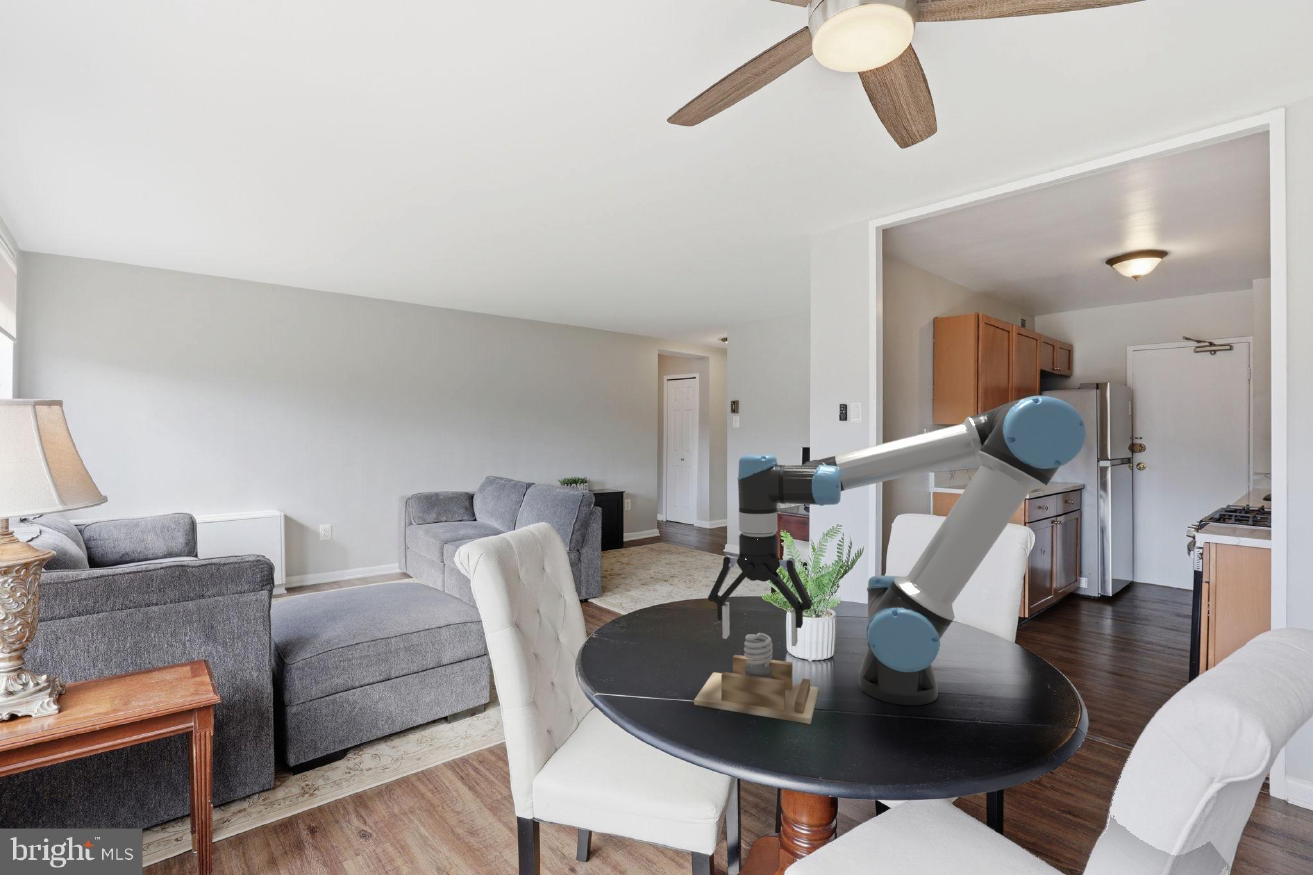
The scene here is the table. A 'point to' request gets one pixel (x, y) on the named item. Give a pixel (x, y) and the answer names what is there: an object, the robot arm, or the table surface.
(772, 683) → the u rest
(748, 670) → the light bulb
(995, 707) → the table surface
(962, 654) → the table surface
